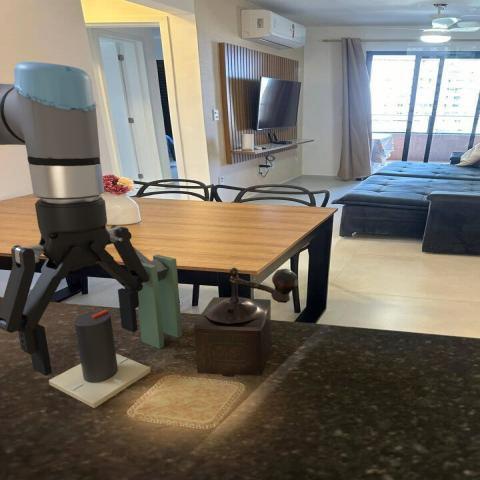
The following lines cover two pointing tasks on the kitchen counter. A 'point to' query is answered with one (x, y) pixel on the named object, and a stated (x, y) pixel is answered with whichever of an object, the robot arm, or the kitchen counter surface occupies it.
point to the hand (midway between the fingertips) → (90, 348)
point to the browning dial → (96, 346)
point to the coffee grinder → (239, 328)
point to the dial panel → (99, 391)
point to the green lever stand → (159, 304)
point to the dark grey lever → (150, 262)
